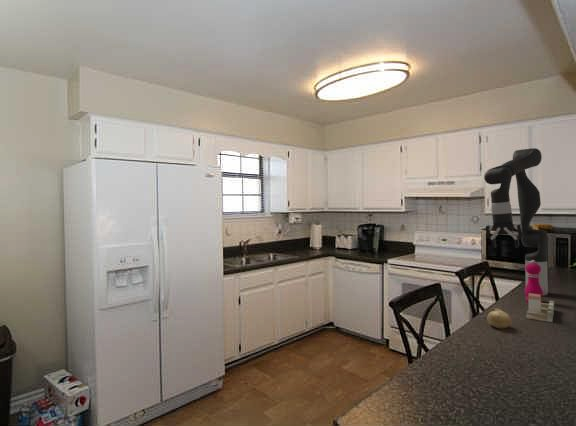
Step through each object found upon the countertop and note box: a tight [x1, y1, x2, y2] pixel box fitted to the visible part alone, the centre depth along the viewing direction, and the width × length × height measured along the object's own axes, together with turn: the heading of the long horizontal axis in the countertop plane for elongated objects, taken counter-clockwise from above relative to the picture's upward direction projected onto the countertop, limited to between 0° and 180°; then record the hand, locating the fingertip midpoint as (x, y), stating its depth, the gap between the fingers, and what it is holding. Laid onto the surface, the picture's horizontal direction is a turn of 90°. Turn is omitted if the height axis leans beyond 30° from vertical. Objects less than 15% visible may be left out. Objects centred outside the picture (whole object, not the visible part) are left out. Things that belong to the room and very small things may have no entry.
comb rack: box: [525, 300, 555, 323], centre depth 146 cm, size 18×8×4 cm, turn 140°
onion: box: [486, 307, 512, 330], centre depth 133 cm, size 8×8×7 cm
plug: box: [528, 293, 542, 313], centre depth 144 cm, size 4×4×9 cm
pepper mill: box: [524, 260, 543, 303], centre depth 164 cm, size 7×7×20 cm
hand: (505, 247), depth 154 cm, fingers open, 8 cm apart
